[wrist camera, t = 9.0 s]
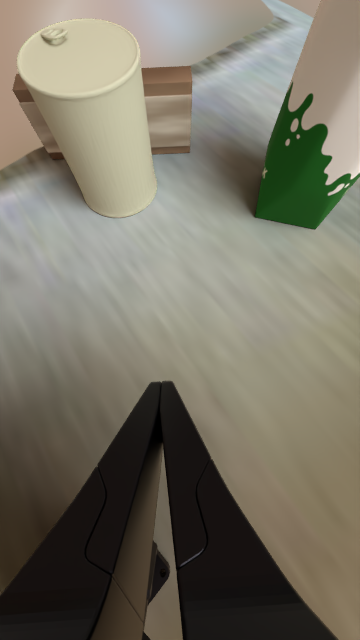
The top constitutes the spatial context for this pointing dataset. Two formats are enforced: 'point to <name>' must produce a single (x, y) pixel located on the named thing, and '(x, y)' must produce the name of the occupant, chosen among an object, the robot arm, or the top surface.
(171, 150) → the brown box
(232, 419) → the top surface
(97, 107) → the can
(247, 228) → the top surface
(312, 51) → the milk carton
